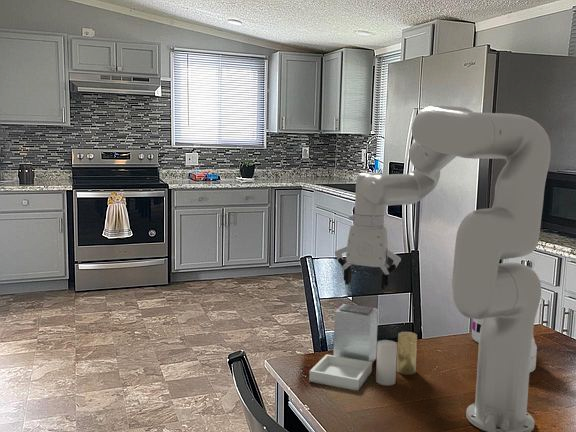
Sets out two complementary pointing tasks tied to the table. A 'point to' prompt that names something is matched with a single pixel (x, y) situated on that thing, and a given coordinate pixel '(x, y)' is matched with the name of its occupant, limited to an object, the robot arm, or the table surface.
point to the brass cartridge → (406, 353)
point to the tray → (340, 372)
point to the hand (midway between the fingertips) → (365, 285)
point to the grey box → (355, 332)
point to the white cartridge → (386, 362)
